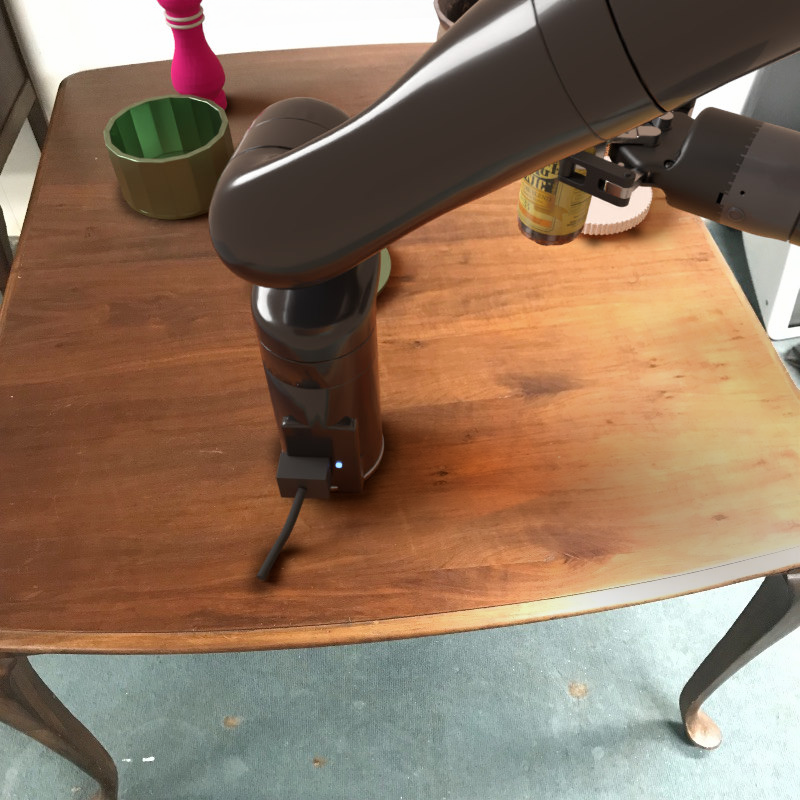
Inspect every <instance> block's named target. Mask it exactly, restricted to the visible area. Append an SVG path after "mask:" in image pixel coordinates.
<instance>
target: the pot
mask: <svg viewBox="0 0 800 800" xmlns="http://www.w3.org/2000/svg"><path fill="white" fill-rule="evenodd" d="M232 137H233V136H232V132H231V128H230V123H229V120H228V116H227V114H226V111H225V110H224V109H223V108H221V107H220V106H218V105H217V104H216V103H214V102H213V101H212V100H209V99H205V98H201V97H198V96H194V95H181V94H173V93H171V94H164V95H158V96H153V97H152V96H151V97H148V98H147V97H146V98H144V99H142V100H140V101H137V102H135V103H132V104H130V105H126V106H125V107H123V108H122V109H121V110H119V111H118V112H117V113H116V114H114V115H113V116H112V117H111V118H110V119H109V121H108V122H107V124H106V126H105V127H104V130H103V139H104V144H105V147H106V151H107V154H108V156H109V159H110V162H111V166H112V168H113V171H114V173H115V176H116V179H117V182H118V185H119V188H120V191H121V193H122V196H123V199H124V200H125V202H126V203H127V204H128V206H129V207H130V208H131V209H132V210H134V211H135V212H137V214H141V215H143V216H145V217H148V218H150V219H151V218H152V219H157V220H165V221H166V220H167V221H168V220H169V221H170V220H172V221H173V220H175V221H176V220H185V219H190V218H195V217H199V216H202V215H204V214H207V213H209V208H210V203H211V198H212V195H213V192H214V189H215V187H216V184H217V181H218V179H219V177H220V175H221V173H222V172H223V170H224V168H225V167H226V165H227V163H228V161H229V160H230V158H231V156H232V155H233V153H234V151H235V148H234V142H233V138H232Z"/></svg>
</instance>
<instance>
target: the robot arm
mask: <svg viewBox="0 0 800 800" xmlns="http://www.w3.org/2000/svg"><path fill="white" fill-rule="evenodd" d="M798 53H800V0H479V1H478V2H477V3H475V4H474V5H473V6H472V7H471V8H470V9H469V10H468V11H467V12H466V13H465V14H464V15H463V16H462V17H460V18H459V19H458V20H457V21H456V22H455V23H454V24H453V25H452V26H451V27H450V28H449V29H448V30H447V31H446V32H445V33H444V34H443V35H442V36H441V37H440V38H439V39H438V40H437V39H436V41H435V42H434V43H433V44H432V45H431V46H429V47H428V49H426V51H425V52H424V53H423V54H422V55H421V56H420V57H419V58H418V59H416V61H414V63H413V64H412V65H411V66H409V68H408V69H407V70H405V72H404V73H403V74H402V75H401V76H400V77H399V78H398V79H397V80H396V81H395V82H394V83H393V84H392V85H391V86H390V87H389V88H388V89H387V90H386V91H385V92H384V93H382V94H381V95H380V96H379V97H377V99H375V100H374V101H373V102H372V103H370V104H369V105H368V106H366V107H365V108H364V109H362V110H361V111H359V112H358V113H356V114H355V115H353V116H350V115H349V114H348V113H346V112H345V111H343V110H342V109H341V108H339V107H338V106H336V105H334V104H332V103H330V102H329V101H328V102H327V101H325V100H322V99H318V98H315V97H309V96H307V97H306V96H296V97H295V96H294V97H289V98H285V99H282V100H279V101H277V102H274V103H272V104H271V105H269V106H266V108H265V109H263V110H262V111H261V112H260V113H259V114H258V115H256V117H255V118H254V120H253V121H251V123H250V125H249V126H248V127H247V129H246V131H245V133H244V135H243V136H242V138H241V139H240V141H239V143H238V144H237V146H236V148H235V149H234V153H233V155H232V156H231V158H230V160H229V161H228V163H227V165H226V167H225V168H224V170H223V172H222V173H221V175H220V177H219V179H218V181H217V184H216V187H215V189H214V192H213V195H212V198H211V203H210V208H209V212H208V217H207V219H208V222H207V223H208V234H209V237H210V241H211V245H212V247H213V249H214V251H215V253H216V255H217V257H218V259H219V260H220V262H221V263H222V264H223V265H224V266H225V267H226V269H228V270H229V271H230V272H231V273H232V274H233V275H235V276H236V277H238V278H240V279H242V281H243V280H244V281H246V282H247V283H249V284H251V292H250V298H249V299H250V312H251V318H252V322H253V326H254V330H255V334H256V339H257V343H258V347H259V351H260V357H261V361H262V366H263V370H264V375H265V379H266V384H267V389H268V393H269V397H270V402H271V406H272V411H273V416H274V419H275V424H276V428H277V429H276V430H277V433H278V437H279V441H280V442H279V443H280V447H281V452H280V455H279V459H278V465H277V470H276V476H275V479H276V483H277V487H278V491H279V496H280V497H281V498H291V499H293V501H292V504H291V507H290V510H289V512H288V515H287V518H286V521H285V523H284V525H283V527H282V530H281V532H280V533H279V535H278V537H277V538H276V540H275V541H274V543H273V545H272V547H271V549H270V551H269V552H268V554H267V556H266V558H265V560H264V562H263V564H262V565H261V567H260V569H259V570H258V572H257V574H256V578H257V579H258V580H260V581H262V582H264V581H266V579H267V578H268V575H270V572H271V570H272V568H273V567H274V564H275V562H276V561H277V559H278V557H279V555H280V553H281V551H282V549H283V548H284V546H285V545H286V543H287V541H288V539H290V536H291V534H292V532H293V529H294V527H295V525H296V522H297V520H298V517H299V515H300V512H301V509H302V506H303V503H304V501H305V499H307V500H308V499H311V500H330V496H331V492H344V493H362V492H363V489H364V482H365V481H367V480H368V479H369V478H370V477H372V475H374V473H375V472H376V471H377V470H378V468H379V467H380V465H381V463H382V460H383V457H384V452H385V440H384V434H383V421H382V403H381V385H380V367H379V364H380V363H379V349H378V326H377V325H378V324H377V297H378V296H377V291H378V285H379V278H380V269H381V250H383V249H385V248H388V247H390V246H391V245H393V244H394V243H396V242H398V241H399V240H401V239H403V238H404V237H407V236H408V235H410V234H411V233H413V232H414V231H416V230H418V229H420V228H422V227H423V226H425V225H427V224H429V223H431V222H432V221H434V220H436V219H438V218H440V217H442V216H444V215H446V214H447V213H450V212H452V211H454V210H457V209H458V208H461V207H463V206H465V205H467V204H470V203H472V202H474V201H476V200H479V199H481V198H483V197H485V196H488V195H490V194H492V193H494V192H496V191H498V190H501V189H503V188H505V187H507V186H509V185H511V184H513V183H515V182H518V181H521V180H522V178H524V177H526V176H528V175H530V174H532V173H534V172H536V171H539V170H541V169H543V168H545V167H547V166H549V165H551V164H553V163H555V162H557V161H559V162H560V166H559V171H558V177H557V179H558V180H559V181H560V182H562V183H565V184H567V185H569V186H571V187H574V188H576V189H578V190H581V191H583V192H585V193H587V194H590V195H592V196H594V197H597V198H599V199H601V200H604V201H606V202H608V203H610V204H613V205H615V206H618V207H626V206H628V204H629V201H630V197H631V195H632V192H633V191H634V190H635V189H637V188H638V187H639V186H641V187H652V188H655V189H659V190H661V191H662V192H663V193H664V197H665V198H664V199H665V202H666V204H667V205H668V207H671V208H673V209H675V210H679V211H682V212H685V213H688V214H691V215H694V216H697V217H700V218H702V219H705V220H709V221H712V222H715V223H716V224H717V223H718V224H721V225H724V226H727V227H729V228H732V229H735V230H738V231H741V232H744V233H747V234H750V235H753V236H758V237H762V238H768V239H772V240H778V241H781V242H784V243H787V242H788V244H790V245H794V246H796V247H800V131H798V130H795V129H791V128H787V127H785V126H780V125H777V124H773V123H770V122H767V121H764V120H759V119H756V118H753V117H749V116H746V115H742V114H739V113H735V112H732V111H728V110H725V109H722V108H719V107H714V106H708V107H705V108H703V109H702V110H701V111H700V112H699V113H698V114H697V116H696V117H695V118H694V117H692V116H693V112H694V109H695V105H696V103H697V100H698V99H699V98H701V97H704V96H705V95H707V94H709V93H711V92H713V91H716V90H718V89H719V88H721V87H723V86H725V85H728V84H730V83H731V82H734V81H736V80H739V79H741V78H743V77H746V76H747V75H750V74H752V73H754V72H756V71H758V70H761V69H763V68H765V67H768V66H770V65H773V64H775V63H777V62H779V61H782V60H784V59H787V58H790V57H791V56H793V55H796V54H798ZM608 146H609V147H608ZM591 147H593V148H594V149H593V153H592V154H591V153H588V152H586V151H584V150H586V149H589V148H591ZM607 147H608V152H607V156H608V157H609V158H610V160H611V161H612V162H610V161H608V160H605V159H604V156H605V155H606V150H607ZM575 169H585V170H586V176H584V175H582V174H580V173H577V172H575Z"/></svg>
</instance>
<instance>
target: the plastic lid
mask: <svg viewBox="0 0 800 800" xmlns="http://www.w3.org/2000/svg"><path fill="white" fill-rule="evenodd" d="M604 159H605V160H608V161H610V162H612V161H611V160H610V158H609V156H608V155H606V156H604ZM652 188H653V187H641V186H639V187H638V188H637V189H635V190H634V191H633V192H632V195H631V197H630V201H629V204H628V206H626V207H618V206H615V205H613V204H610V203H608V202H606V201H604V200H601V199H599V198H597V197H594V196H592V198H591V202H590V206H589V210H588V214H587V218H586V221H585V223H584V228H583V230H582V232H581V234H584V235H589V236H592V235H595V236H598V235H600V236H604V235H605V236H608V235H614V234H619V233H623V232H624V231H628V230H631V229H632V228H635V227H636V226H638V225H639V224H640V223H642V221H644V220H645V218H646V217H647V215H648V214H649V211H650V208H651V204H652V200H653V189H652Z"/></svg>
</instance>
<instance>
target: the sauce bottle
mask: <svg viewBox="0 0 800 800" xmlns="http://www.w3.org/2000/svg"><path fill="white" fill-rule="evenodd" d="M593 149H594V148H593V147H591V148H589V149H586V150H584V151H586V152H588V153H591V154H592V153H593ZM559 166H560V162H559V161H557V162H555V163H553V164H551V165H549V166H547V167H545V168H543V169H541V170H539V171H536V172H534V173H532V174H530V175H528V176H526V177H524V178H522V179H520V188H519V193H518V201H517V205H516V206H517V207H516V208H517V209H516V211H517V227H518V230H519V231H520V233H521V234H522V235H523V236H524V237H526V238H527V239H529V240H530V241H531V242H535V244H537V245H540V246H544V247H548V246H549V247H550V246H562V245H566V244H570V243H571V242H573V241H574V240H576V239H577V238H578V237H579V236H580V235H581V234H582V233H581V232H582V230H583V228H584V223H585V221H586V218H587V214H588V210H589V206H590V202H591V198H592V195H590V194H587V193H585V192H583V191H581V190H578V189H576V188H574V187H571V186H569V185H567V184H565V183H562V182H560V181H559V180H558V179H557V177H558V171H559ZM575 172H577V173H580V174H582V175H584V176H586V170H585V169H575Z"/></svg>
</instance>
